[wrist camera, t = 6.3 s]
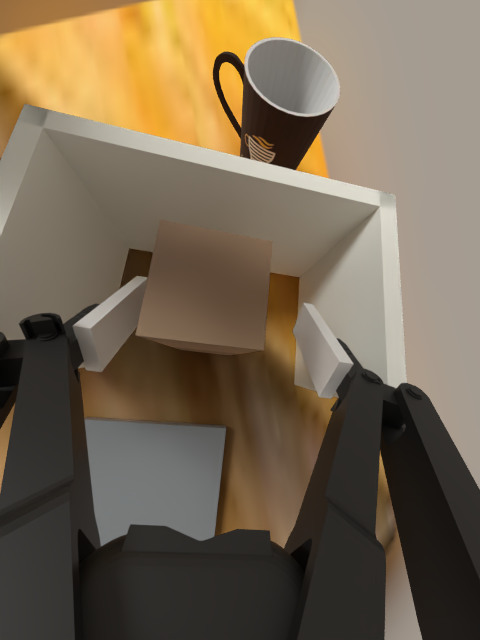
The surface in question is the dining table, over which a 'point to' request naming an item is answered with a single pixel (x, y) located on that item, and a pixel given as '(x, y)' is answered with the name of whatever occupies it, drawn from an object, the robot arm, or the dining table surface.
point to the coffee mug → (280, 99)
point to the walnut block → (206, 290)
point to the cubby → (191, 209)
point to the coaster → (154, 475)
